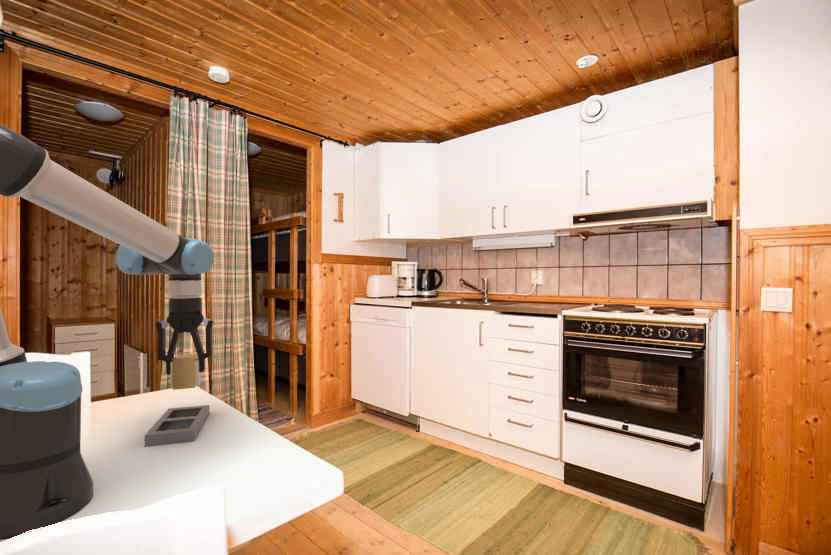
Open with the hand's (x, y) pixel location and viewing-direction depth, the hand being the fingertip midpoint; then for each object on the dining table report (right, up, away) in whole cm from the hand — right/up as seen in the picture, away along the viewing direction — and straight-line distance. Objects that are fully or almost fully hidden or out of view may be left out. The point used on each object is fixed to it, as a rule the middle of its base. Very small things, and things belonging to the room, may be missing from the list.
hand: (185, 385), depth 105 cm
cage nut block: (0, 0, 0) cm, 0 cm away
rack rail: (+1, -10, -5) cm, 11 cm away
